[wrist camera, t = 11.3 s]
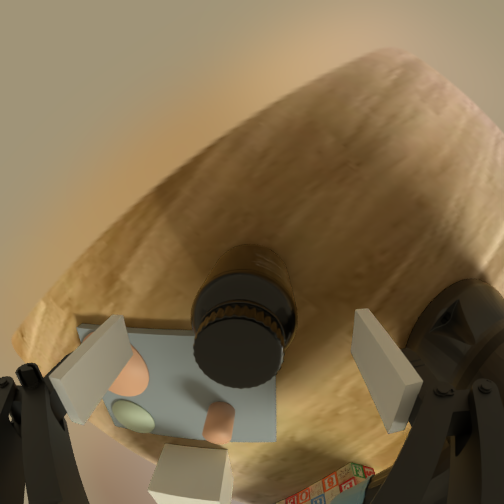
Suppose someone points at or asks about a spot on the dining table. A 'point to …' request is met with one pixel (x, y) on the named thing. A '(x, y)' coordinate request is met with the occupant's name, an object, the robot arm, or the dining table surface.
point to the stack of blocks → (331, 485)
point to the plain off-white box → (192, 476)
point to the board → (183, 393)
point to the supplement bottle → (244, 317)
